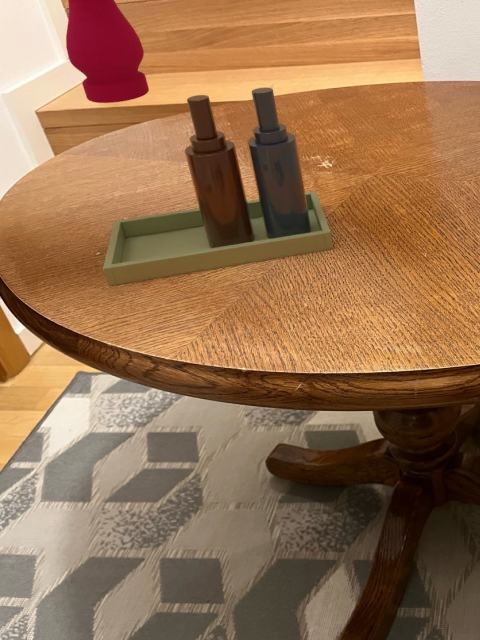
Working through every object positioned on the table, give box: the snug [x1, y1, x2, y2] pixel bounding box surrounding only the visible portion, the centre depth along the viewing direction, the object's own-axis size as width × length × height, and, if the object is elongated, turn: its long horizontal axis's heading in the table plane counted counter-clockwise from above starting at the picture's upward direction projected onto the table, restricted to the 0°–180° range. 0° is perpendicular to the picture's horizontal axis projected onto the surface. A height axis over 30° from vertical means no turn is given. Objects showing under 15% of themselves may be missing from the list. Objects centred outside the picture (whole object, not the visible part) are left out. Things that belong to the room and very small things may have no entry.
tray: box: [102, 190, 334, 287], centre depth 83 cm, size 24×13×2 cm, turn 107°
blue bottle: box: [246, 87, 311, 239], centre depth 81 cm, size 5×5×16 cm
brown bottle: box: [184, 94, 255, 248], centre depth 80 cm, size 5×5×16 cm
